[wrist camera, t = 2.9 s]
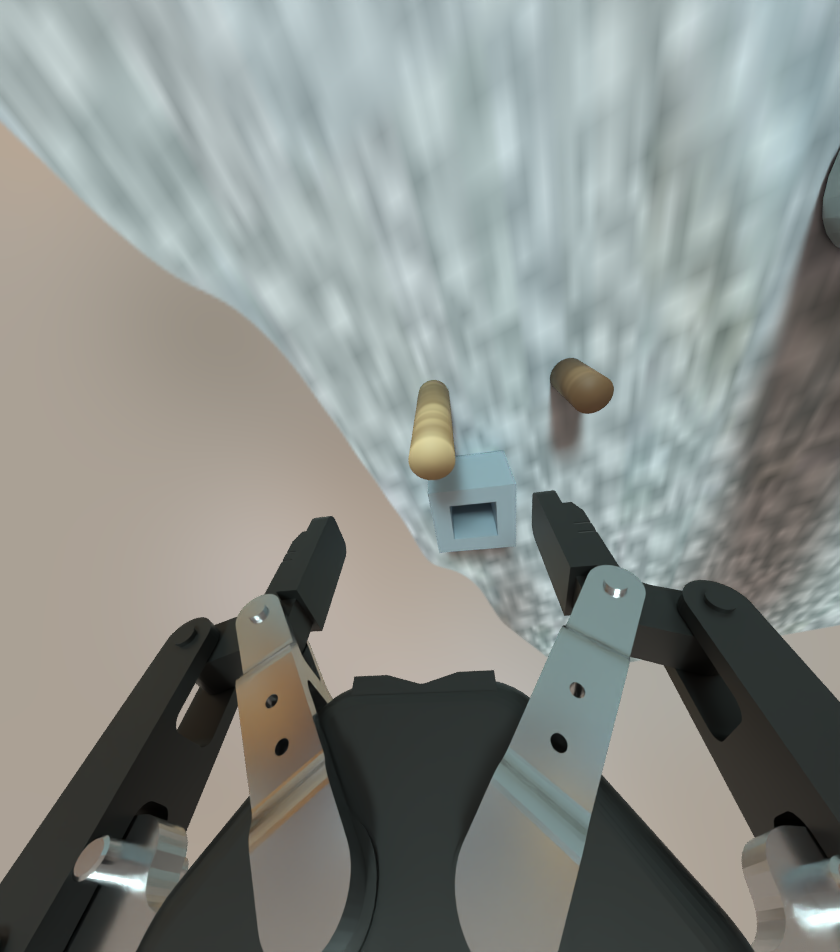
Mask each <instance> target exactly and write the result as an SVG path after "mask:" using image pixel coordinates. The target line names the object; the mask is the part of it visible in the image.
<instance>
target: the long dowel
mask: <svg viewBox="0 0 840 952" xmlns="http://www.w3.org/2000/svg"><path fill="white" fill-rule="evenodd" d="M409 465H410V468H411V470H412V471H413V472H414V473H415V474H416V475H417V476H419V477H420V478H423V479H426V480H438V479H441V478H444V477H446V476H447V475H448V474H449V473H450V472H451V471H452V470H453V468H454V466H455V450H454V440H453V430H452V420H451V409H450V399H449V391H448V389H447V387H446V385H445V384H443V383H442V382H440V381H437V380H431V381H427V382H426V383H424V384H423V385H422V386H421V388H420V390H419V394H418V400H417V407H416V413H415V420H414V427H413V433H412V440H411V446H410V453H409Z"/></svg>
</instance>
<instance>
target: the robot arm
mask: <svg viewBox="0 0 840 952" xmlns="http://www.w3.org/2000/svg"><path fill="white" fill-rule="evenodd" d="M822 219H823V223H824V226H825V230H826V234H827V235H828V237H829V238H830V240H831V241H832V242H833V244H834V245H835V246H837V247H838V248H840V151H839V153H838V155H837V158H836V160H835V163H834V165H833V167H832V170H831V172H830V175H829V177H828V181H827V185H826V190H825V194H824V198H823V217H822ZM532 529H533V534H534V538H535V541H536V543H537V546H538V549H539V551H540V554H541V556H542V559H543V562H544V564H545V567H546V569H547V572H548V575H549V577H550V580H551V582H552V585H553V588H554V590H555V593H556V595H557V598H558V600H559V603H560V606H561V608H562V611H563V613H564V616H567V615H570V618H569V620H568V622H567V624H566V626H562V628H561V630H560V632H559V634H558V636H557V638H556V640H555V643H554V645H553V647H552V649H551V652H550V654H549V656H548V659H547V661H546V663H545V666H544V668H543V670H542V672H541V675H540V677H539V679H538V681H537V684H536V686H535V688H534V691H533V693H532V695H531V697H530V698H529V697H528V696H527V695H525V694H524V693H522V692H521V691H519V690H517V689H515V688H514V687H511V686H509V685H506V684H504V683H500V682H496V681H495V675H494V670H491V671H469V672H457V673H454V674H451V675H448V676H445V677H442V678H439V679H436V680H433V681H430V682H427V683H424V684H418V683H415V682H411V681H407V680H403V679H399V678H396V677H392V676H388V675H381V676H359V677H354V682H353V688H352V689H350V690H348V691H346V692H344V693H342V694H340V695H339V696H337V697H335V698H334V699H333V698H332V697H331V695H330V693H329V691H328V689H327V687H326V685H325V682H324V680H323V677H322V674H321V672H320V669H319V667H318V664H317V662H316V659H315V656H314V654H313V651H312V648H311V646H310V643H309V642H308V637H309V634H310V632H312V631H322V629H323V627H324V623H325V620H326V617H327V614H328V611H329V608H330V604H331V601H332V598H333V595H334V592H335V589H336V585H337V582H338V579H339V576H340V573H341V570H342V566H343V563H344V560H345V557H346V545H345V541H344V539H343V537H342V534H341V532H340V530H339V527H338V525H337V523H336V521H335V519H334V517H332V516H328V517H319V518H314V519H312V521H311V523H310V525H309V527H308V529H307V531H305V532H302V533H301V534H300V535H299V536H298V537H297V538H296V539H295V540H294V541H293V542H292V544H291V546H290V548H289V550H288V552H287V554H286V555H285V557H284V559H283V562H282V563H281V564H280V566H279V568H278V570H277V572H276V574H275V576H274V578H273V579H272V581H271V583H270V585H269V587H268V589H267V591H266V593H265V594H264V595H261V596H259V597H257V598H255V599H253V600H252V601H250V602H249V603H248V604H247V605H246V606H245V607H244V608H243V609H242V610H241V611H240V613H239V615H238V617H235V618H233V619H230V620H227V621H225V622H222V623H219V624H216V625H213V623H212V622H210V620H209V619H207V618H204V617H201V618H196V619H193V620H191V621H189V622H187V623H185V624H184V625H182V626H181V627H180V628H178V629H177V630H176V631H175V632H174V633H173V634H172V635H171V636H170V637H169V638H168V640H167V641H166V643H165V644H164V646H163V647H162V648H161V650H160V651H159V653H158V654H157V656H156V657H155V659H154V660H153V662H152V663H151V664H150V666H149V667H148V669H147V670H146V672H145V673H144V675H143V676H142V678H141V679H140V681H139V682H138V683H137V685H136V686H135V688H134V689H133V691H132V693H131V694H130V695H129V697H128V698H127V700H126V701H125V703H124V704H123V705H122V707H121V708H120V710H119V711H118V713H117V714H116V716H115V717H114V719H113V720H112V722H111V723H110V724H109V726H108V727H107V729H106V730H105V732H104V733H103V735H102V736H101V738H100V739H99V741H98V742H97V743H96V745H95V746H94V748H93V749H92V751H91V752H90V754H89V755H88V756H87V758H86V759H85V761H84V762H83V764H82V765H81V767H80V768H79V770H78V771H77V772H76V774H75V775H74V777H73V778H72V780H71V781H70V783H69V784H68V786H67V787H66V789H65V790H64V791H63V793H62V794H61V796H60V797H59V799H58V800H57V802H56V803H55V805H54V806H53V808H52V809H51V811H50V812H49V813H48V815H47V816H46V818H45V819H44V821H43V822H42V824H41V825H40V827H39V828H38V829H37V831H36V832H35V834H34V835H33V837H32V838H31V840H30V841H29V843H28V844H27V845H26V847H25V848H24V850H23V851H22V853H21V854H20V856H19V857H18V859H17V860H16V862H15V863H14V864H13V866H12V867H11V869H10V870H9V872H8V873H7V875H6V876H5V878H4V879H3V881H2V882H1V884H0V952H840V702H839V701H838V700H837V698H836V697H835V696H834V695H833V694H832V693H831V692H830V691H829V689H828V688H827V687H826V686H825V685H824V684H823V683H822V682H821V681H820V679H819V678H818V677H817V676H816V675H815V674H814V673H813V672H812V671H811V669H810V668H809V667H808V666H807V665H806V664H805V663H804V661H803V660H802V659H801V658H800V657H799V656H798V655H797V654H796V653H795V651H794V650H793V649H792V648H791V647H790V646H789V645H788V644H787V643H786V641H785V640H784V639H783V638H782V637H781V636H780V635H779V633H778V632H777V631H776V630H775V629H774V628H773V627H772V626H771V625H770V623H769V622H768V621H767V620H766V619H765V618H764V617H763V616H762V614H761V613H760V612H759V611H758V610H757V609H756V608H755V607H754V605H753V604H752V603H751V602H750V601H749V600H748V599H747V598H746V597H744V596H743V595H742V594H740V593H739V592H737V591H736V590H734V589H732V588H730V587H728V586H725V585H723V584H720V583H717V582H713V581H707V580H697V581H692V582H690V583H688V584H686V585H685V587H684V588H683V591H681V590H675V589H669V588H663V587H658V586H653V585H649V584H645V583H643V582H641V581H640V580H639V578H638V577H636V576H635V575H634V574H633V573H631V572H629V571H628V570H626V569H623V568H621V567H619V565H618V564H617V562H616V561H615V559H614V558H613V556H612V555H611V553H610V551H609V550H608V548H607V547H606V545H605V544H604V542H603V540H602V539H601V537H600V536H599V534H598V533H597V532H596V530H595V528H594V526H593V525H592V523H590V520H589V519H588V517H587V515H586V514H585V512H584V511H583V510H582V509H581V508H579V507H578V506H576V505H575V504H574V503H572V502H568V503H562V502H561V500H560V498H559V497H558V495H557V493H556V492H555V491H554V490H552V491H544V492H536V493H533V498H532ZM630 657H634V658H638V659H642V660H646V661H650V662H654V663H657V664H661V665H664V667H665V668H666V670H667V672H668V674H669V676H670V678H671V680H672V682H673V683H674V685H675V687H676V689H677V691H678V693H679V695H680V697H681V699H682V701H683V703H684V704H685V706H686V708H687V710H688V712H689V714H690V716H691V718H692V720H693V721H694V723H695V725H696V727H697V729H698V731H699V733H700V735H701V736H702V738H703V740H704V742H705V744H706V746H707V748H708V750H709V752H710V754H711V755H712V757H713V759H714V761H715V763H716V765H717V767H718V768H719V771H720V773H721V774H722V776H723V778H724V780H725V782H726V784H727V786H728V787H729V790H730V791H731V793H732V795H733V797H734V799H735V801H736V803H737V805H738V806H739V808H740V810H741V812H742V814H743V816H744V818H745V820H746V822H747V824H748V825H749V827H750V829H751V831H752V833H753V835H754V837H755V838H753V839H752V840H750V841H749V842H747V844H746V845H745V847H744V849H743V852H742V869H743V873H744V877H745V880H746V883H747V886H748V888H749V891H750V894H751V896H752V899H753V902H754V906H755V910H756V917H757V933H756V936H755V940H754V942H753V943H752V945H750V944H749V942H748V941H747V939H746V938H745V937H744V936H743V934H742V933H741V931H740V930H739V929H738V927H737V926H736V925H735V923H734V922H733V921H732V920H731V919H730V917H729V916H728V915H727V914H726V912H725V911H724V910H723V909H722V908H721V907H720V906H719V905H718V903H717V902H716V901H715V900H714V899H713V898H712V897H711V896H710V895H709V893H708V892H707V891H706V890H705V889H704V888H703V887H702V886H701V884H700V883H699V882H698V881H697V880H696V879H695V878H694V877H693V876H692V874H691V873H690V872H689V871H688V870H687V869H686V868H685V867H684V866H683V865H682V863H681V862H680V861H679V860H678V859H677V858H676V857H675V856H674V855H673V853H672V852H671V851H670V850H669V849H668V848H667V847H666V846H665V845H664V843H663V842H662V841H661V840H660V839H659V838H658V837H657V836H656V834H655V833H654V832H653V831H652V830H651V829H650V828H649V827H648V826H647V824H646V823H645V822H644V821H643V820H642V819H641V818H640V817H639V816H638V815H637V813H636V812H635V811H634V810H633V809H632V808H631V807H630V806H629V805H628V803H627V802H626V801H625V800H624V799H623V798H622V797H621V796H620V794H619V793H618V792H617V791H616V790H615V789H614V788H613V787H612V786H611V785H610V783H609V782H608V781H607V780H606V779H605V778H604V777H603V776H602V770H603V766H604V763H605V758H606V754H607V751H608V747H609V742H610V739H611V735H612V731H613V727H614V723H615V719H616V715H617V711H618V707H619V703H620V699H621V695H622V691H623V688H624V684H625V679H626V676H627V672H628V667H629V663H630ZM195 683H196V684H197V685H198V686H200V687H199V689H198V691H197V693H196V695H195V697H194V699H193V701H192V703H191V705H190V707H189V708H188V710H187V712H186V714H185V716H184V718H183V720H182V722H181V724H180V726H179V727H178V729H176V721H177V717H178V714H179V712H180V710H181V708H182V706H183V705H184V703H185V701H186V699H187V697H188V696H189V694H190V692H191V690H192V688H193V686H194V684H195ZM237 707H238V709H239V717H240V725H241V732H242V740H243V747H244V756H245V764H246V771H247V779H248V787H249V794H250V796H249V797H248V798H247V799H246V801H245V802H244V803H243V804H242V805H241V807H240V808H239V809H238V810H237V811H236V813H235V814H234V815H233V816H232V818H231V819H230V820H229V821H228V823H227V824H226V825H225V826H224V827H223V828H222V830H221V831H220V832H219V833H218V835H217V836H216V837H215V838H214V839H213V841H212V842H211V843H210V844H209V846H208V847H207V848H206V849H205V850H204V852H203V853H202V854H201V855H200V856H199V858H198V859H197V860H196V861H195V862H194V864H193V865H192V866H191V867H190V869H189V870H188V859H187V858H186V852H187V843H188V842H187V834H186V831H187V828H188V826H189V823H190V821H191V818H192V816H193V814H194V811H195V809H196V806H197V804H198V801H199V799H200V797H201V794H202V792H203V789H204V787H205V784H206V782H207V780H208V777H209V775H210V772H211V770H212V767H213V765H214V763H215V760H216V758H217V755H218V753H219V750H220V748H221V746H222V743H223V741H224V738H225V736H226V733H227V731H228V729H229V726H230V724H231V721H232V719H233V716H234V714H235V712H236V709H237Z"/></svg>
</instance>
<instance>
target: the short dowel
mask: <svg viewBox="0 0 840 952" xmlns="http://www.w3.org/2000/svg"><path fill="white" fill-rule="evenodd" d="M550 382H551V384H552V386H553V387H554V388H555V389H556V390H557V391H558V392H559V393H560V394H561V395H562V396H563V397H564V398H565V399H566V400H567V401H568V402H569V403H570V404H571V405H572V406H573V407H574V408H575V409H576V410H577V411H579V412H581V413H585V414H589V413H594V412H597V411H599V410H601V409H602V408H604V407H605V406H606V405H607V404H608V403H609V401H610V400H611V398H612V396H613V392H614V387H613V384H612V382H611V380H610V379H608V378H607V377H605V376H604V375H602V374H600V373H599V372H597V371H595V370H594V369H592V368H591V367H589V366H587V365H586V364H584V363H583V362H581V361H579V360H578V359H575V358H568V359H564V360H562V361H560V362H559V363H558V364H557V365H556V366H555V367H554V368H553V370H552V372H551V375H550Z"/></svg>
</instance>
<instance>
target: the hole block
mask: <svg viewBox="0 0 840 952" xmlns="http://www.w3.org/2000/svg"><path fill="white" fill-rule="evenodd" d="M428 497H429V502H430V507H431V512H432V517H433V522H434V527H435V532H436V537H437V543H438V548H439V553H442V552H454V551H466V550H478V549H490V548H502V547H514V546H516V483H515V480H514V477H513V475H512V472H511V469H510V467H509V464H508V461H507V459H506V456H505V453H504V451H496V452H488V453H480V454H472V455H464V456H457V457H455V466H454V468H453V470H452V471H451V472H450V473H449V474H448V475H447V476H446V477H444V478H441V479H438V480H428Z"/></svg>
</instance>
